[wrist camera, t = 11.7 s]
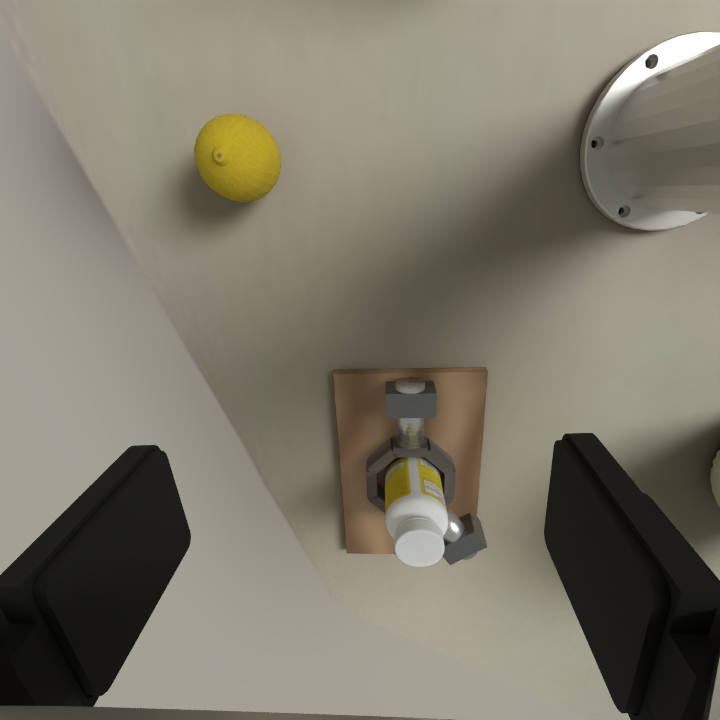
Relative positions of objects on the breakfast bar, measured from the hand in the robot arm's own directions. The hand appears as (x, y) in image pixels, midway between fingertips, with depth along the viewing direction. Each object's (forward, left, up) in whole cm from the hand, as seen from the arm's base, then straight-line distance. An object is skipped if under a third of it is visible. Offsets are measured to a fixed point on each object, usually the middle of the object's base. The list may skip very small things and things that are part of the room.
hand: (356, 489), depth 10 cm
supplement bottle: (-3, +20, -27) cm, 34 cm away
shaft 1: (-3, +12, -28) cm, 30 cm away
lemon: (+9, -9, -28) cm, 31 cm away
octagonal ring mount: (-3, +20, -28) cm, 34 cm away
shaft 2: (-7, +26, -28) cm, 39 cm away
